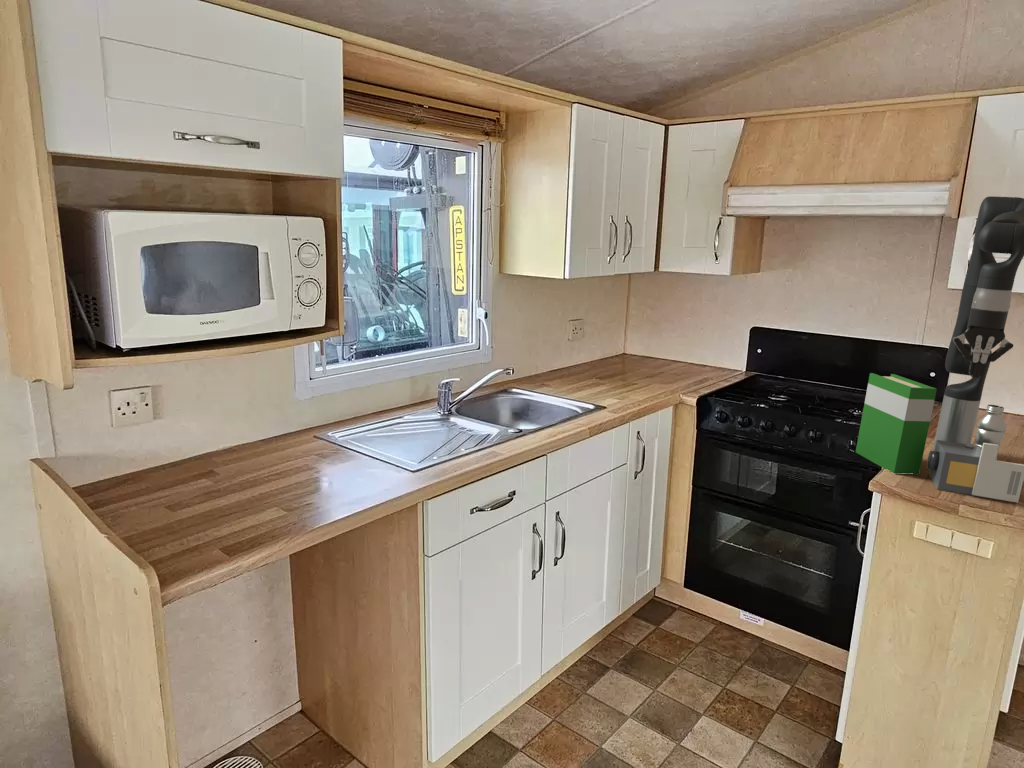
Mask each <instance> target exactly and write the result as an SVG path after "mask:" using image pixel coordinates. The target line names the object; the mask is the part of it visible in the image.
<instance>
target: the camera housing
mask: <svg viewBox="0 0 1024 768" xmlns="http://www.w3.org/2000/svg"><path fill="white" fill-rule="evenodd" d="M981 450H982V448H981V447H980V446H976V445H975V443H974V444H973V443H971V444H970V443H966V444H962V443H955V442H949V441H942V440H936V445H935V450H934V449H933V450H930V451H929V452H928V456H927V464H926V465H927V470H929V474H928V475H929V477H930V478H931V481H932V482H933V484H934V485H935V487H936V489H937V490H939V491H940V490H941V491H947V492H950V493H957V494H962V495H967V496H968V495H969V496H973V497H974V496H976V495H972V490H973V485H974V481H975V477H976V472H977V468H978V464H979V459H980V455H981ZM976 497H977V496H976ZM979 497H980V498H983V497H982V496H979Z"/></svg>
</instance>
